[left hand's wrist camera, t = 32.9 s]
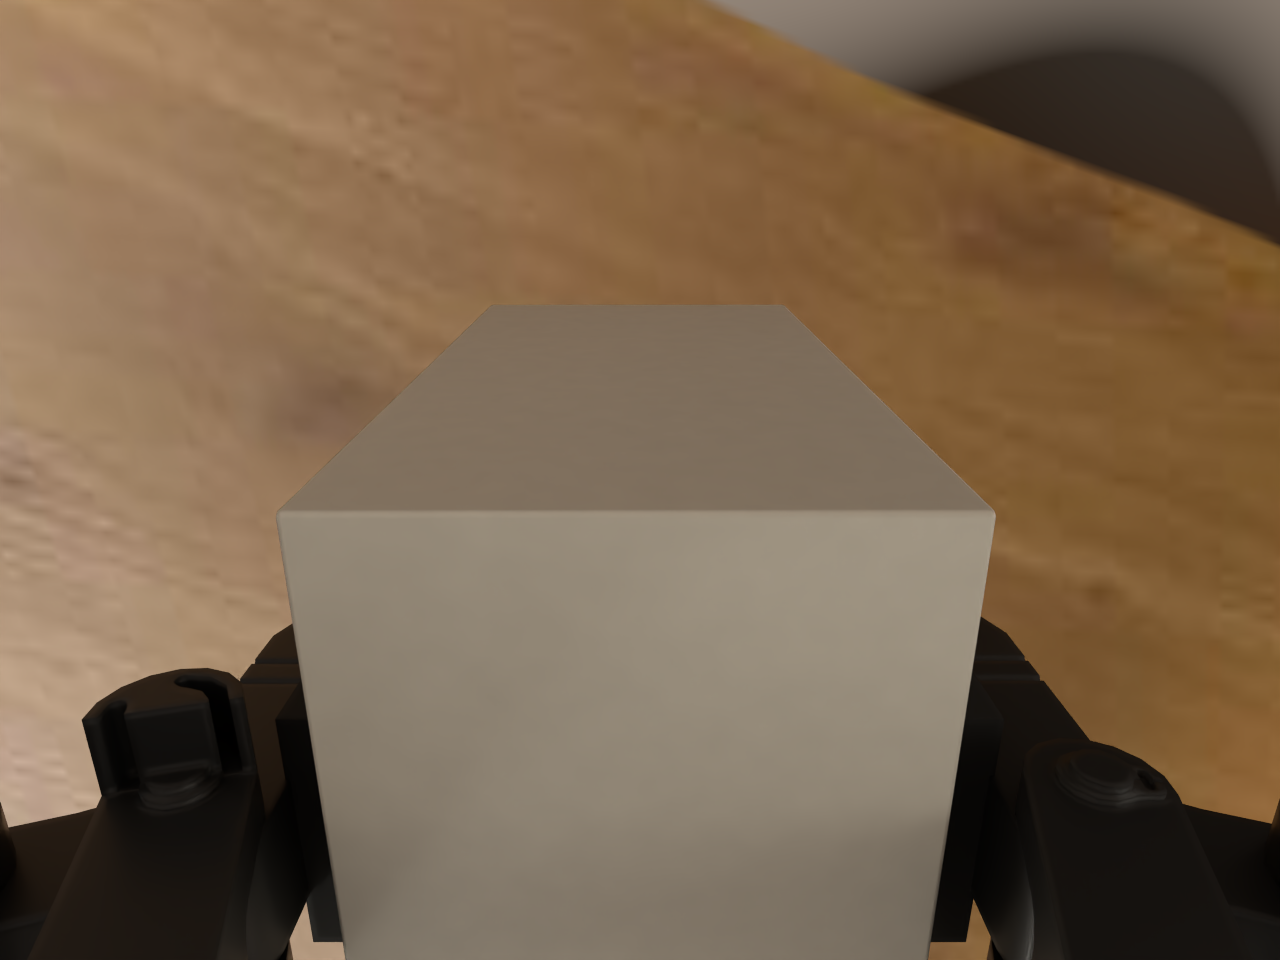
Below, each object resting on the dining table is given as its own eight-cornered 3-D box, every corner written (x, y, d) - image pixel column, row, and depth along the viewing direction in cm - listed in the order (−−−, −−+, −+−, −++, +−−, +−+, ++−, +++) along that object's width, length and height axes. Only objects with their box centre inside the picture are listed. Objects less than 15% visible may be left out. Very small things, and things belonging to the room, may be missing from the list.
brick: (784, 304, 15) (1001, 512, 6) (763, 673, 18) (892, 1201, 9) (490, 304, 15) (271, 512, 6) (512, 674, 18) (382, 1202, 9)
